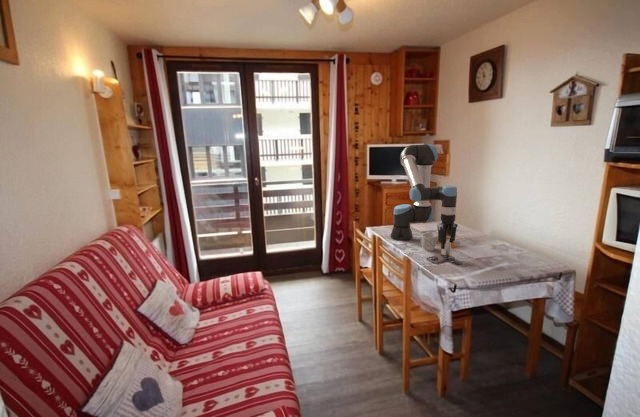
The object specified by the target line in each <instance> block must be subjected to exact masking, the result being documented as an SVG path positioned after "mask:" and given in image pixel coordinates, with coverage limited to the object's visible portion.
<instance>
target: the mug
mask: <svg viewBox="0 0 640 417" xmlns="http://www.w3.org/2000/svg"><path fill="white" fill-rule="evenodd" d="M436 244H437V235H436V234H434V233H422V235H420V245H421V246H422V249H423V250H424V251H427V252H428V251H429V252H431V251H435V247H436Z"/></svg>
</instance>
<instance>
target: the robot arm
mask: <svg viewBox="0 0 640 417" xmlns="http://www.w3.org/2000/svg"><path fill="white" fill-rule="evenodd" d="M438 158H439V154H438V149H437V147H436V146H435V145H434V144H429V143H426V144H409V145H408V146H405V148H403V150H402V151H401V152H400V156H399V160H400V161H399V162H400V164H401V166H402V167H403V168H404V172H405V175H406V176H407V179H408V180H407V181H408V183H409V186H410V187H411V188H410V189H409V199H410V200H411V201H412V202H413V201H414V202H413V206H412V205H411V204H408V203H406V204H403V203H402V204H398V205H396V206H394V207H393V226H392V230H391V233H390V238H391V239H392V240H395V241H400V242H401V241H402V242H404V241H410V240H413V237H414V235H413V232H412V228H411V224H426V223H427V224H428V223H431V221H432V220H433V219H434V214H435V211H434V210H435V209H434V206H432V203H430V202H431V201H441V209H440V210H441V211H440V213H441V214H440V221H441V223H440V225H439V226H438V225H437V227H436V228H437V235H438V238H437V243H438V242H439V243H441V244H440V248H441V253H440V254H444V255H446V237H447V235H450V236H451V238H450V242H449V255H451V253H452V252H451V251H452V248H453V247H452V243H454V242H455V240H456V236H457V235H456V234H457V228H458V223H455V221H456V210H457V199H458V198H457V197H458V188H457V187H456V186H453V185H444V186H442V185H441V186H436V187H431V177H432V176H431V172H432V167H434V164H435V163H436V162H437V161H438ZM439 243H438V244H439Z"/></svg>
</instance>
